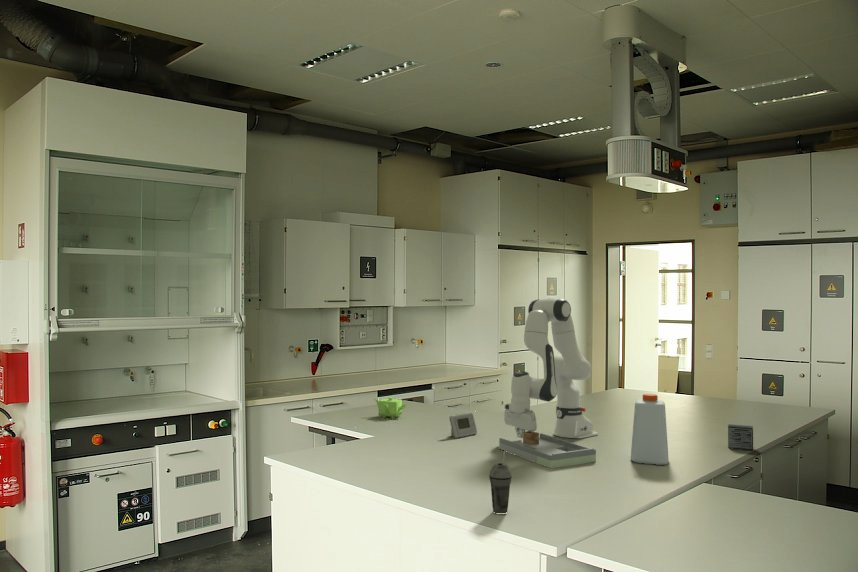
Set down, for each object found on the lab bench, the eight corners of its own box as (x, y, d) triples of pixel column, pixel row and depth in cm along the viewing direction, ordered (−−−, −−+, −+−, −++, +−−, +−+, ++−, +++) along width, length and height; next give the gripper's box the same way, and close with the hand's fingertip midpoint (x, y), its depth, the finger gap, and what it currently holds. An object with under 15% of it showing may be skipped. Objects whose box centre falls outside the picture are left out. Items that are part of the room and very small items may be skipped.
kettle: (372, 416, 375) (373, 396, 376) (395, 414, 382) (395, 394, 383) (384, 420, 362) (384, 400, 363) (407, 418, 369) (407, 398, 370)
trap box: (541, 444, 309) (541, 432, 309) (595, 461, 278) (595, 448, 278) (499, 449, 298) (499, 437, 298) (551, 468, 266) (551, 454, 266)
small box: (753, 448, 307) (753, 425, 307) (753, 451, 301) (753, 428, 301) (728, 445, 311) (728, 423, 311) (727, 448, 305) (728, 425, 305)
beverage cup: (486, 509, 215) (487, 447, 215) (508, 508, 215) (509, 447, 215) (490, 516, 207) (491, 452, 208) (513, 516, 208) (514, 452, 208)
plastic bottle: (668, 458, 286) (668, 393, 286) (668, 466, 271) (669, 398, 272) (631, 455, 290) (632, 391, 291) (630, 463, 276) (630, 396, 277)
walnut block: (531, 441, 300) (532, 430, 300) (538, 444, 296) (538, 432, 296) (523, 442, 298) (523, 431, 298) (529, 445, 294) (530, 433, 294)
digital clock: (454, 439, 318) (454, 417, 318) (444, 435, 326) (444, 414, 326) (481, 435, 327) (481, 414, 327) (470, 432, 334) (470, 411, 334)
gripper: (540, 410, 297) (539, 441, 296) (513, 403, 314) (512, 432, 314) (529, 411, 294) (528, 442, 293) (502, 404, 311) (501, 434, 311)
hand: (520, 437), depth 304 cm, fingers closed
